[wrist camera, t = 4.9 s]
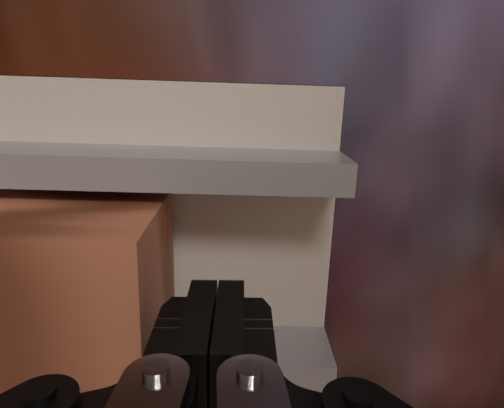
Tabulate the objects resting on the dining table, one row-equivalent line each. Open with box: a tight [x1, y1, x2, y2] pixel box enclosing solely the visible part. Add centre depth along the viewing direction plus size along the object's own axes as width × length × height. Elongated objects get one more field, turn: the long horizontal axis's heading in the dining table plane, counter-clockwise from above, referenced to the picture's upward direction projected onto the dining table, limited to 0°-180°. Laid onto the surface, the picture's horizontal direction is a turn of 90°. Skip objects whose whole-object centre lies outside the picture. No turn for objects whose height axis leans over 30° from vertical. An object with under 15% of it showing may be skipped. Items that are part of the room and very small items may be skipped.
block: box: [0, 189, 174, 394], centre depth 13 cm, size 6×5×5 cm
